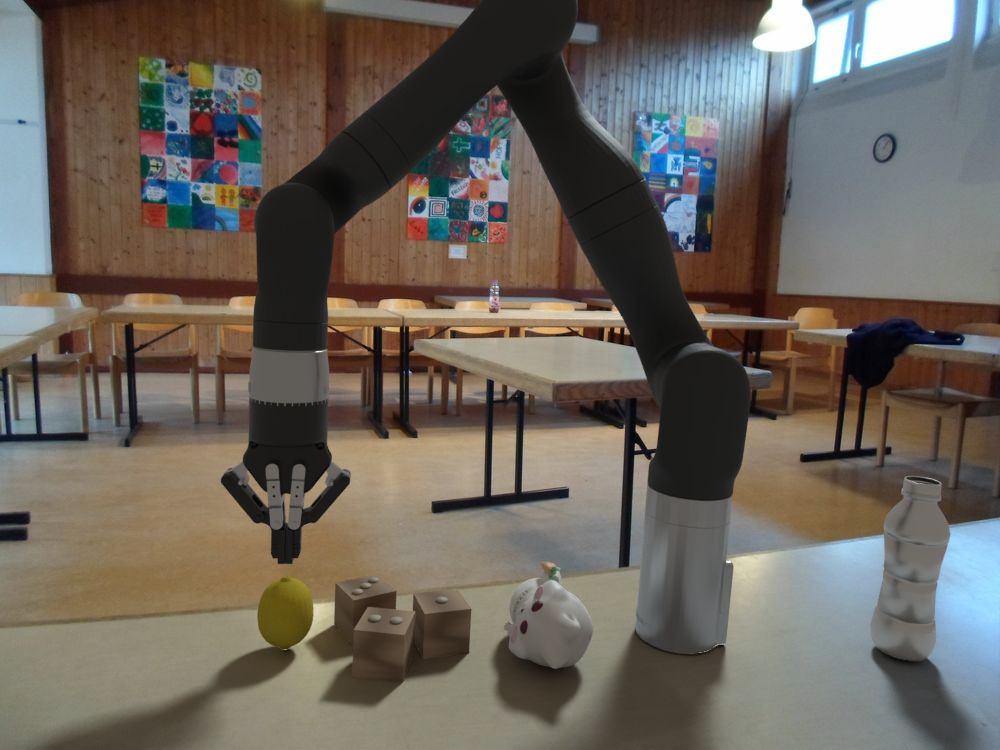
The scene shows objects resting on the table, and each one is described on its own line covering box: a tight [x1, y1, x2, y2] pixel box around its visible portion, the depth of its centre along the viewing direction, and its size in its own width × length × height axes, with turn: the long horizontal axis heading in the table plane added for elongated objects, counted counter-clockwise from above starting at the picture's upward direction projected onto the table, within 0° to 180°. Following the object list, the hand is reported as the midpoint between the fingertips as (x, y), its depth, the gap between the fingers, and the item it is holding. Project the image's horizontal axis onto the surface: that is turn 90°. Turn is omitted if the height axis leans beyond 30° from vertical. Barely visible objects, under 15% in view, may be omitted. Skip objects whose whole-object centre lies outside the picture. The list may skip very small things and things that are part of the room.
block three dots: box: [333, 573, 398, 645], centre depth 80 cm, size 5×5×5 cm
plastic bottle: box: [869, 475, 951, 662], centre depth 80 cm, size 6×7×20 cm
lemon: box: [256, 575, 314, 650], centre depth 74 cm, size 6×6×8 cm
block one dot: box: [412, 588, 472, 660], centre depth 77 cm, size 5×5×5 cm
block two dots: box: [351, 607, 416, 684], centre depth 72 cm, size 5×5×5 cm
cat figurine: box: [503, 561, 594, 670], centre depth 76 cm, size 10×8×15 cm
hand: (285, 561), depth 74 cm, fingers closed
